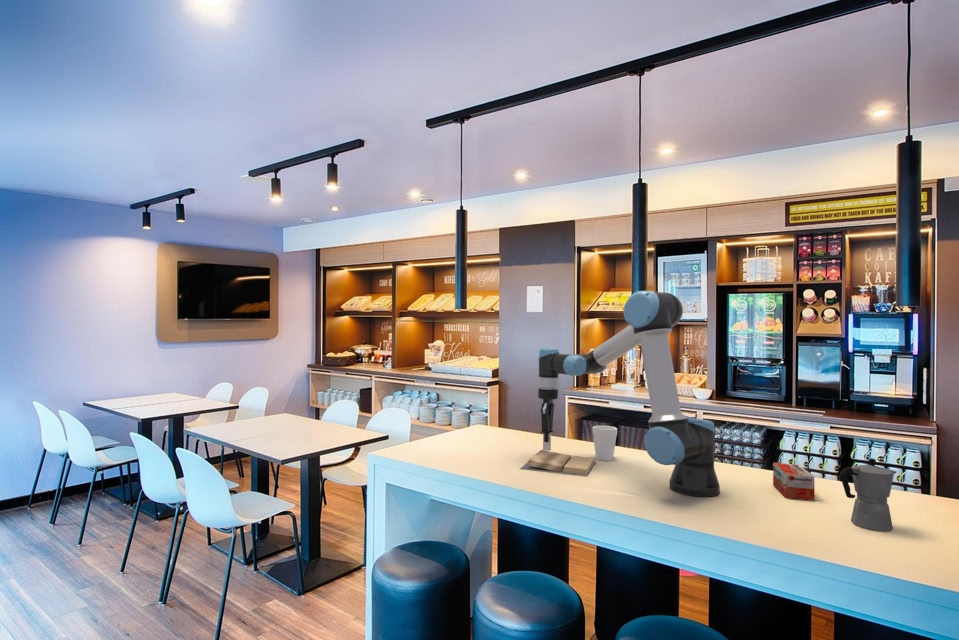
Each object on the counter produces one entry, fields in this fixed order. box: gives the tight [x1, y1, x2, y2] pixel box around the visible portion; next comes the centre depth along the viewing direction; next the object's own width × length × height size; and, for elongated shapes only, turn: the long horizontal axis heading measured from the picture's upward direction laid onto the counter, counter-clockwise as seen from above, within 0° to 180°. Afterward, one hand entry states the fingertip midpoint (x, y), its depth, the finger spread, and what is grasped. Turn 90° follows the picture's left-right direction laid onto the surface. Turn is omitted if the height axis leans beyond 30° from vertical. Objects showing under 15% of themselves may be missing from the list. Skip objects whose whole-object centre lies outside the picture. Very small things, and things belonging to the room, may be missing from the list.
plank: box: [528, 449, 573, 472], centre depth 202 cm, size 12×18×2 cm, turn 160°
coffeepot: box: [839, 457, 897, 533], centre depth 147 cm, size 15×9×18 cm, turn 93°
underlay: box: [519, 455, 597, 477], centre depth 201 cm, size 24×22×3 cm
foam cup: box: [591, 425, 618, 462], centre depth 213 cm, size 10×9×13 cm
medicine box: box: [772, 462, 815, 502], centre depth 176 cm, size 15×8×8 cm, turn 167°
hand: (546, 449), depth 209 cm, fingers closed
